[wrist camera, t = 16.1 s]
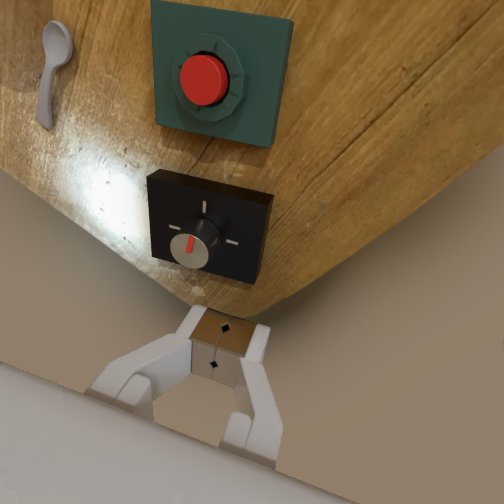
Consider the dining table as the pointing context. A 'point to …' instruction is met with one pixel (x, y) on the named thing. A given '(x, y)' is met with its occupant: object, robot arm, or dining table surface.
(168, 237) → the hob panel
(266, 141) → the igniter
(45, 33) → the spoon
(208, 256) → the hob knob
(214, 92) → the button
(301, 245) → the dining table surface
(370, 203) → the dining table surface
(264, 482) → the robot arm
